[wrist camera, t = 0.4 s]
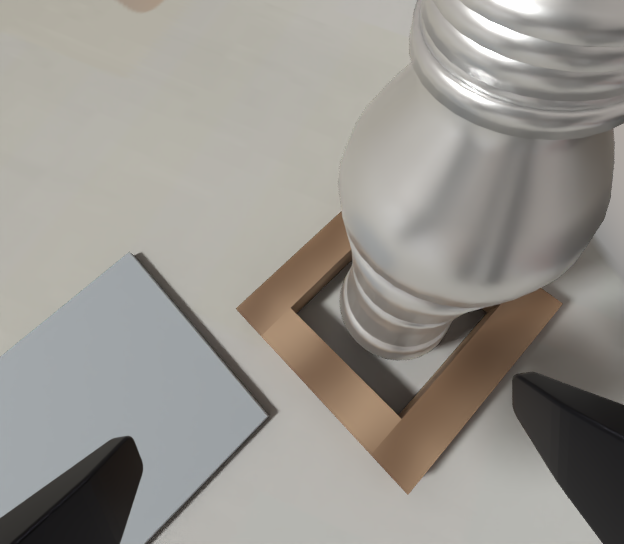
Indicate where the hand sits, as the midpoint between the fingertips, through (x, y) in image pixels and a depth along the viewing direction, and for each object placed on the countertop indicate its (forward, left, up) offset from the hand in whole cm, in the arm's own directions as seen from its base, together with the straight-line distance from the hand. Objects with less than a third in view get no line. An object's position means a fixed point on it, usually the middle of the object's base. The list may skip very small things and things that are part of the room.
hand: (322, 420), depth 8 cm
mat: (+11, +11, -14) cm, 21 cm away
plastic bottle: (+2, -7, -14) cm, 16 cm away
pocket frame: (+2, -7, -14) cm, 15 cm away
